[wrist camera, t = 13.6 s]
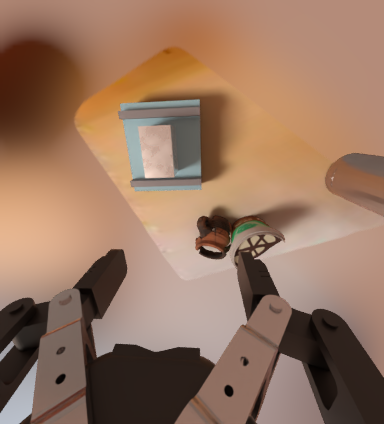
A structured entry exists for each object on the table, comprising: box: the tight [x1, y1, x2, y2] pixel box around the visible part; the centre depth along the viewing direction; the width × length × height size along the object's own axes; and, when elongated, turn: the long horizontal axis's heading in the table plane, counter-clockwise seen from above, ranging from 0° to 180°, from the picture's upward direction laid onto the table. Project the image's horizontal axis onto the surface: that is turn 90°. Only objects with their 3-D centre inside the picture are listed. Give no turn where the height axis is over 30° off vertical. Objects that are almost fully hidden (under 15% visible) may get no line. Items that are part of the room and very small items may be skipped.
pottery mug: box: [195, 216, 232, 259], centre depth 45 cm, size 12×10×8 cm
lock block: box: [138, 125, 178, 178], centre depth 32 cm, size 5×8×6 cm, turn 3°
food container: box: [230, 216, 285, 269], centre depth 41 cm, size 12×6×10 cm, turn 133°
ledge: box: [118, 99, 201, 191], centre depth 36 cm, size 14×16×6 cm
